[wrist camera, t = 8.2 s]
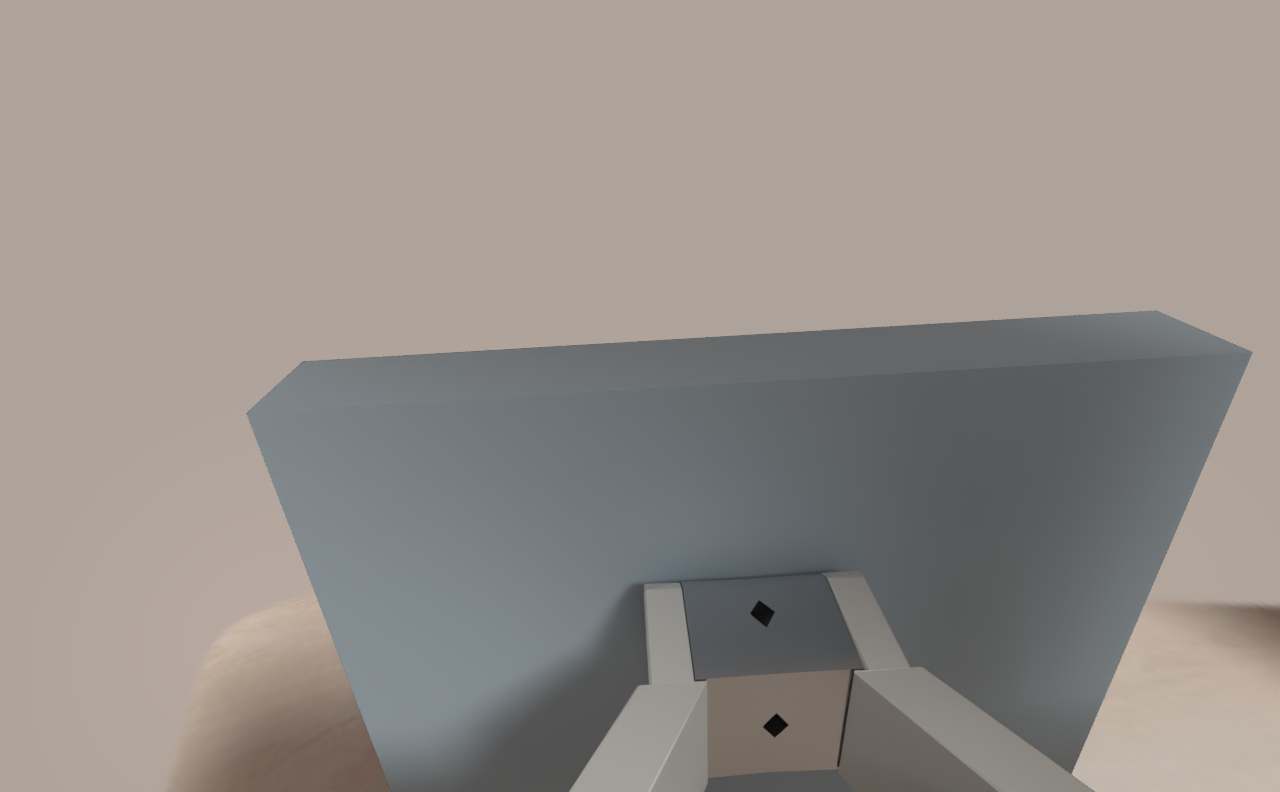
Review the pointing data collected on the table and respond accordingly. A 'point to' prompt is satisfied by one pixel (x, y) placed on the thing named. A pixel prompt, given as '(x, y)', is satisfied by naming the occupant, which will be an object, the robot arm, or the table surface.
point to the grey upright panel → (735, 516)
